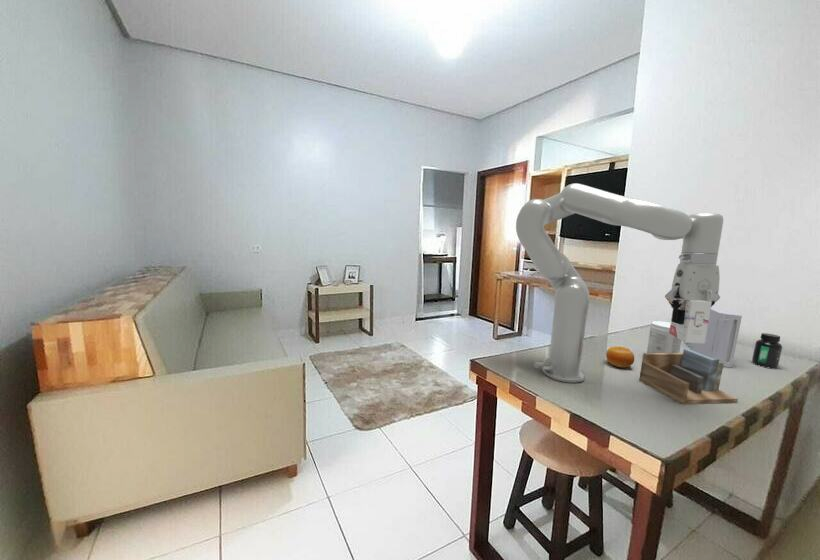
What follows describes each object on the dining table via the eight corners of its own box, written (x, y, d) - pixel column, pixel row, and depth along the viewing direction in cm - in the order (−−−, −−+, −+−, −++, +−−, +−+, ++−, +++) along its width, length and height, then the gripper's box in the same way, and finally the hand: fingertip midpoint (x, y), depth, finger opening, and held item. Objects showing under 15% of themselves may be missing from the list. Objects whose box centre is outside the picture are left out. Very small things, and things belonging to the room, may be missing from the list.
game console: (711, 365, 122) (721, 313, 119) (683, 343, 147) (691, 300, 144) (731, 368, 120) (742, 315, 117) (700, 345, 145) (708, 301, 142)
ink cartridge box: (667, 333, 97) (675, 284, 95) (687, 335, 96) (694, 285, 94) (684, 342, 89) (693, 289, 87) (706, 344, 88) (715, 290, 85)
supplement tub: (669, 358, 127) (675, 322, 125) (682, 368, 118) (689, 329, 116) (641, 355, 129) (646, 319, 127) (651, 364, 120) (658, 326, 118)
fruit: (611, 349, 125) (618, 336, 119) (634, 363, 119) (642, 351, 114) (598, 361, 122) (604, 349, 116) (622, 377, 116) (629, 365, 111)
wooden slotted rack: (682, 404, 92) (688, 366, 90) (639, 379, 107) (644, 347, 105) (737, 402, 94) (745, 366, 92) (688, 379, 109) (693, 347, 107)
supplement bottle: (763, 368, 121) (770, 337, 119) (746, 361, 128) (752, 331, 126) (783, 369, 121) (790, 338, 119) (765, 362, 127) (771, 332, 126)
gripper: (681, 260, 85) (671, 326, 87) (741, 261, 86) (730, 327, 89) (657, 257, 92) (649, 319, 95) (713, 258, 93) (703, 319, 96)
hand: (688, 322), depth 92 cm, fingers closed on ink cartridge box, 6 cm apart
